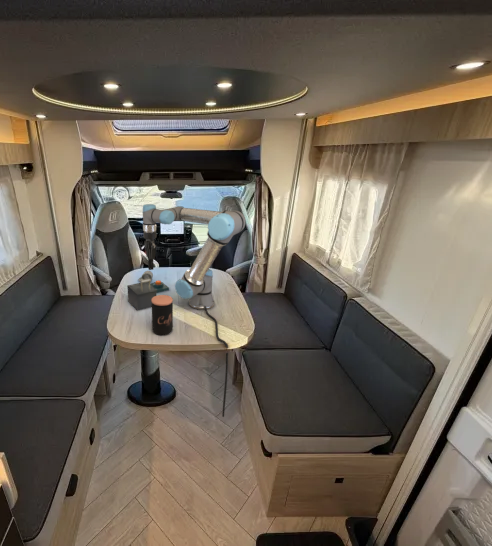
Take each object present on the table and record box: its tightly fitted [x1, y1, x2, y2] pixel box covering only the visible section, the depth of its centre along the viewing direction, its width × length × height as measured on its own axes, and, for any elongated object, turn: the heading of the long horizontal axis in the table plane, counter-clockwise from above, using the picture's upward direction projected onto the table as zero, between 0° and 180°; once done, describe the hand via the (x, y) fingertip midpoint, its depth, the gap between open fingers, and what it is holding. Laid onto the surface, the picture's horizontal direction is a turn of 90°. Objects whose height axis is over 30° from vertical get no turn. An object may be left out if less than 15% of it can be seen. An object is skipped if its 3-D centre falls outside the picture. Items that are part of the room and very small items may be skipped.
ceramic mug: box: [137, 270, 154, 284], centre depth 222 cm, size 11×8×8 cm
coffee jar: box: [151, 294, 174, 336], centre depth 157 cm, size 11×11×18 cm
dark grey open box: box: [126, 286, 158, 311], centre depth 188 cm, size 15×13×10 cm
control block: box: [150, 281, 170, 294], centre depth 210 cm, size 12×10×4 cm
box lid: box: [126, 278, 157, 296], centre depth 185 cm, size 16×13×8 cm
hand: (150, 269), depth 189 cm, fingers closed
